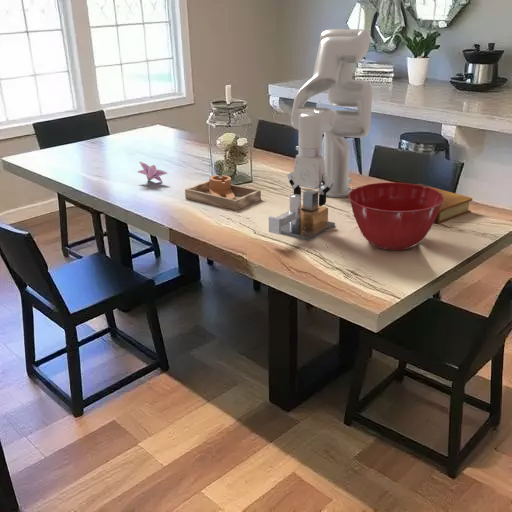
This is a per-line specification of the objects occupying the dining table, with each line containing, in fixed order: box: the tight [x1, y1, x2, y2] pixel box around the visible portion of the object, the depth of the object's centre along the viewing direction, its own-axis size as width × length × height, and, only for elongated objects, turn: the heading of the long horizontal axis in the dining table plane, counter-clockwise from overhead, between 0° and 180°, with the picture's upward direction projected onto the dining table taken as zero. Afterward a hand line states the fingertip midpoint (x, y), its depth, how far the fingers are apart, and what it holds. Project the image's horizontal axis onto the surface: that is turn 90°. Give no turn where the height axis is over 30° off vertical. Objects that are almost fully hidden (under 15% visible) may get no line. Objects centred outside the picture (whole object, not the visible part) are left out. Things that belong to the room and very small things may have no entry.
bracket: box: [208, 174, 236, 200], centre depth 239 cm, size 18×8×7 cm, turn 11°
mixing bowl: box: [348, 182, 444, 251], centre depth 194 cm, size 28×28×16 cm
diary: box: [416, 183, 473, 225], centre depth 223 cm, size 23×19×6 cm
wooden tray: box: [184, 180, 262, 211], centre depth 239 cm, size 15×25×4 cm, turn 53°
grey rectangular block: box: [302, 189, 319, 213], centre depth 209 cm, size 4×4×11 cm
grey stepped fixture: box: [268, 193, 336, 242], centre depth 203 cm, size 25×14×13 cm, turn 143°
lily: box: [137, 161, 168, 188], centre depth 258 cm, size 12×12×10 cm
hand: (309, 202), depth 208 cm, fingers open, 9 cm apart
